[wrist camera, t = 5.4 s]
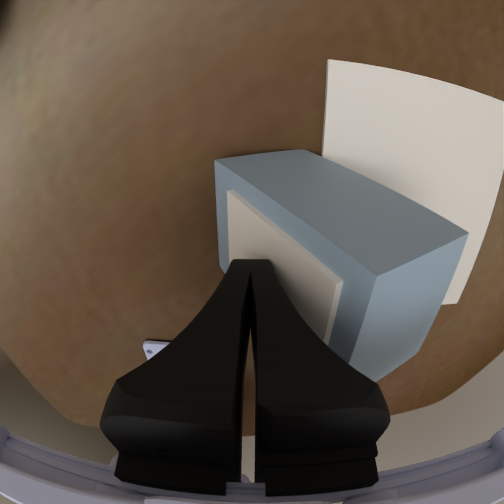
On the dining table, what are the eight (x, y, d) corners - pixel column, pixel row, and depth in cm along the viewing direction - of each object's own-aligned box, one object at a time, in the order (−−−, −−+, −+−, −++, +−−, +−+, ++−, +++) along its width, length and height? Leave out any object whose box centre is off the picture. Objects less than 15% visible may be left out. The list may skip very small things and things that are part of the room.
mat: (454, 300, 22) (456, 303, 22) (303, 306, 22) (304, 309, 22) (511, 105, 14) (515, 106, 13) (326, 59, 14) (328, 59, 13)
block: (295, 244, 20) (417, 352, 12) (215, 267, 18) (325, 412, 10) (302, 148, 16) (469, 232, 9) (209, 160, 14) (368, 279, 7)
